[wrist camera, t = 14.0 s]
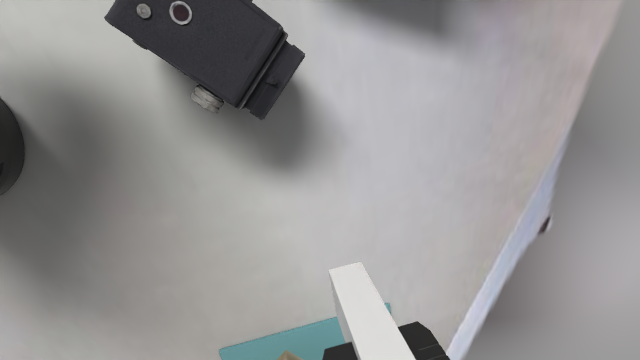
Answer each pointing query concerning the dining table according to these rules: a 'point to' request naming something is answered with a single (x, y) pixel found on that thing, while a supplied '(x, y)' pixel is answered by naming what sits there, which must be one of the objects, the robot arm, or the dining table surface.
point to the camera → (215, 47)
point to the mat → (291, 343)
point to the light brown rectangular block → (288, 356)
